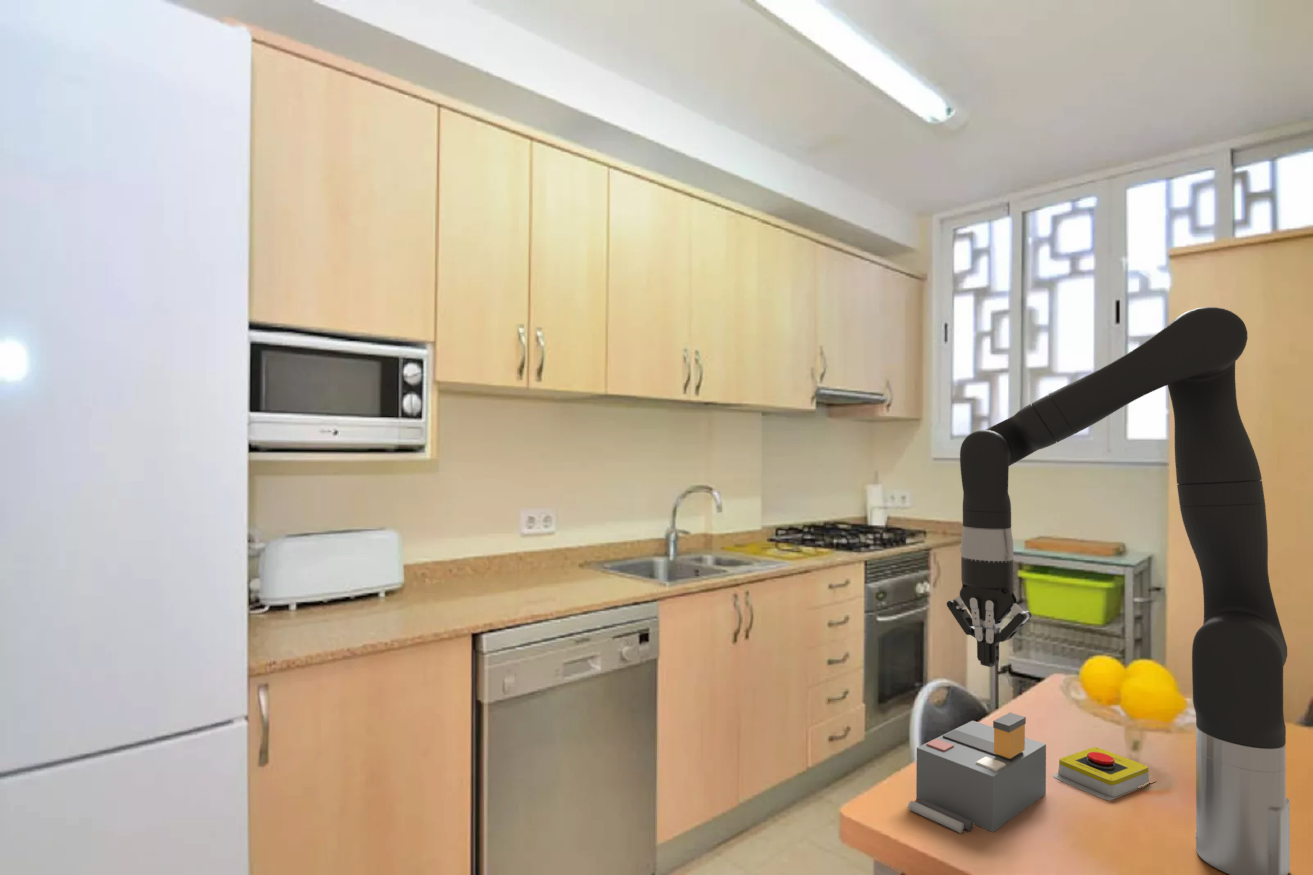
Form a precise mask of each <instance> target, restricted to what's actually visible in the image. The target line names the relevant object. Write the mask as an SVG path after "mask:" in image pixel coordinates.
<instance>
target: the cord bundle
mask: <svg viewBox="0 0 1313 875" xmlns="http://www.w3.org/2000/svg"><path fill="white" fill-rule="evenodd" d="M907 807H908V808H909V810H910V811H912V812H913V813H915V814H917V815H920V816H922V817H924V818H927V819H929V820H931V821H932V822H935V823H937V824H939V825H941V826H944V827H946V828H948V829H951V830H952V831H955V832H957V833H959V834H962V833H964V830H966V831H968V832H971V830H972V829H973V826H974V824H973V822H972V821H971V820H969V819H966V818H964V817H962V816H959V815H957V814H955V813H953V812H950V811H948V810H946V809H943V808H941V807H939V806H937V805H934V804H932V803H930V802H927V801H925V800H923V799H919V800H918V799H917V801H914V800H910V801H909V802H908V806H907Z"/></svg>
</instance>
